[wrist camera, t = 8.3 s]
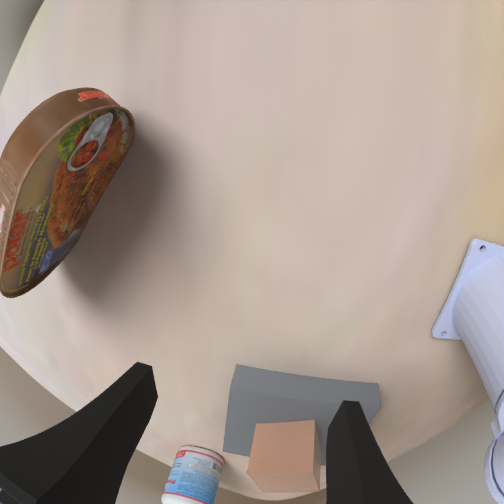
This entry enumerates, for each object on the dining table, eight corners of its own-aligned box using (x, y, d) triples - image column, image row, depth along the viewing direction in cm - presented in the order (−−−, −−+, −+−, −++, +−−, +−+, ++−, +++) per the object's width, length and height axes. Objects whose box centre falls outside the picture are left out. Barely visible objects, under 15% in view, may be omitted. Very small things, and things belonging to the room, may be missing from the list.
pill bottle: (176, 439, 31) (148, 514, 21) (224, 450, 31) (203, 529, 21) (181, 458, 34) (158, 523, 24) (224, 467, 34) (206, 536, 23)
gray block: (376, 378, 23) (381, 406, 20) (334, 443, 28) (334, 465, 26) (237, 359, 24) (230, 386, 21) (228, 429, 29) (222, 451, 26)
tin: (66, 265, 22) (1, 322, 14) (43, 240, 21) (-26, 290, 14) (158, 109, 16) (60, 117, 8) (124, 81, 15) (21, 79, 8)
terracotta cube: (314, 419, 22) (312, 471, 17) (321, 445, 24) (319, 491, 19) (256, 423, 23) (246, 472, 18) (269, 448, 25) (262, 492, 20)
